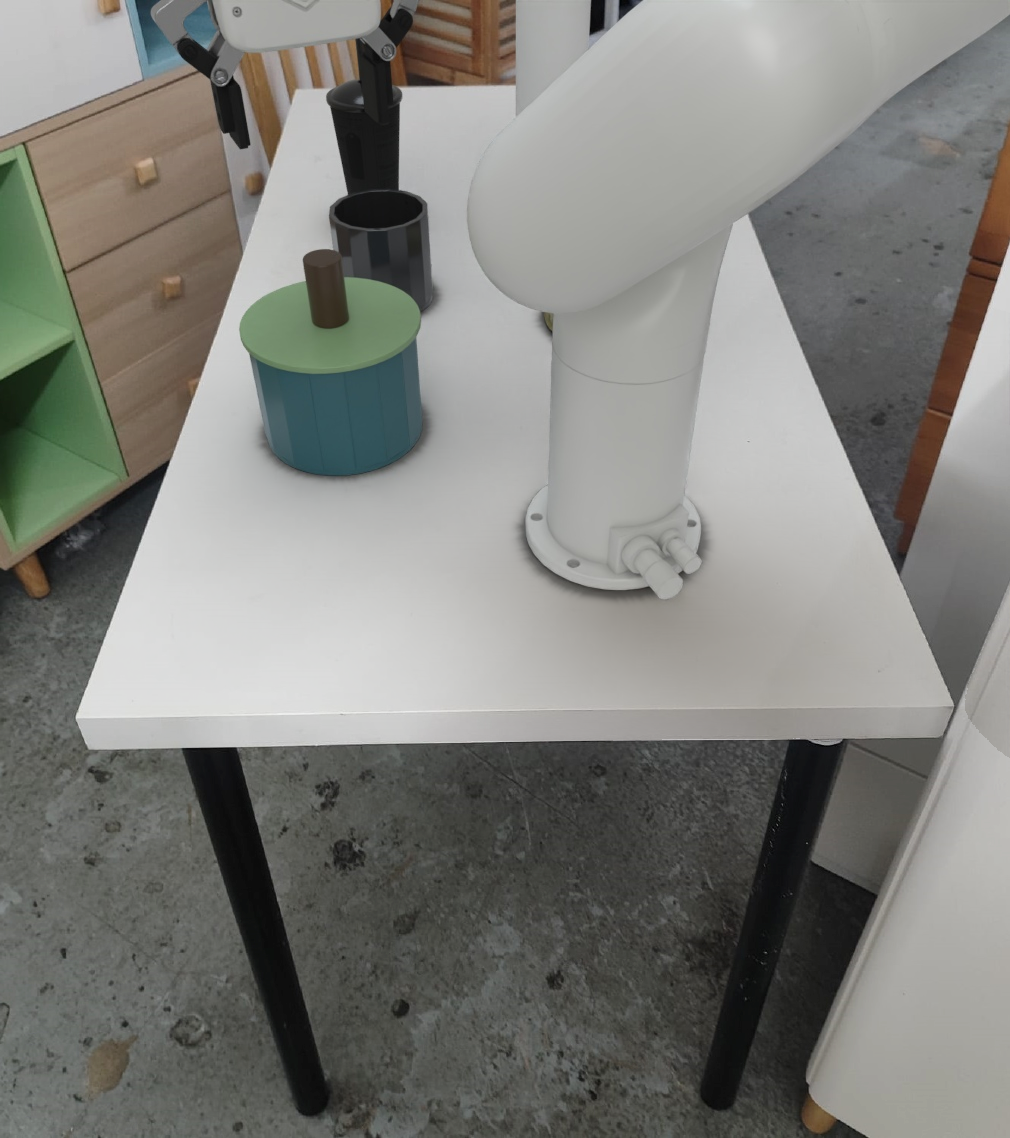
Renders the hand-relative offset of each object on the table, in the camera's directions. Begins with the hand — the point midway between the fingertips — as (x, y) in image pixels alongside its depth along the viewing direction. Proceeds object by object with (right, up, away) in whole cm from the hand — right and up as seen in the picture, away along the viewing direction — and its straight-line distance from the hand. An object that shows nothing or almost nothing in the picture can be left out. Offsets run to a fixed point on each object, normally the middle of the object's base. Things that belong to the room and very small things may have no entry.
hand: (309, 129), depth 70 cm
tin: (0, -18, +15) cm, 23 cm away
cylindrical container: (+18, +8, +43) cm, 47 cm away
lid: (0, -11, +8) cm, 14 cm away
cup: (+2, -3, +31) cm, 31 cm away
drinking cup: (-1, +8, +43) cm, 44 cm away
